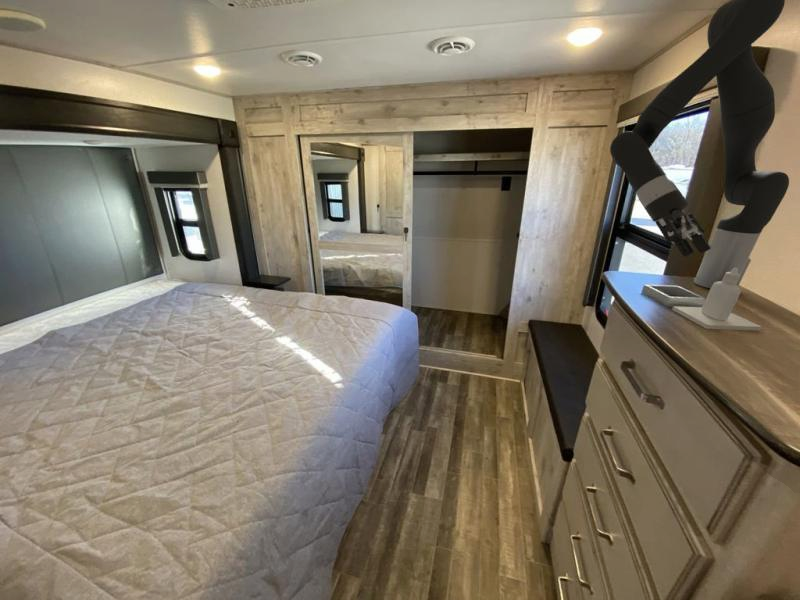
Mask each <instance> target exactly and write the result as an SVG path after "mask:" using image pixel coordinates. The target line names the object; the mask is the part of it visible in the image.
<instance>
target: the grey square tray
mask: <svg viewBox="0 0 800 600" xmlns="http://www.w3.org/2000/svg"><path fill="white" fill-rule="evenodd" d="M641 292H642V293H641V294H643V293H644V294H643V295H645V296H647V297H649V298H651V299H653V300H654V301H655V302H658V303H660V304H661V305H663V306H665V307H672V308H673V306H676V307H703V305H704V302H705V300H706V298H707V297H704V296H701V295H700V294H698V293H695V292H693V291H690V290H689V289H686V288H684V287H682V286H679V285H671V284H670V285H668V284H664V285H663V284H643V287H642V289H641ZM671 295H673V296H671Z"/></svg>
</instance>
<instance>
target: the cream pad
mask: <svg viewBox="0 0 800 600" xmlns="http://www.w3.org/2000/svg"><path fill="white" fill-rule="evenodd" d="M701 309H702V307H676V306H673V307H672V309H671V310H672V311H673V312H675V313H676V314H679V315H680V316H682V317H684V318H686V319H687V320H689V321H691V322H693V323H694V324H696V325H699V326H700V327H702V328H703V329H706V330H729V331H730V330H731V331H732V330H734V331H755V332H756V331H758V332H759V331H761V329H762V326H761V325H759V324H756V323H754V322H752V321H750V320H748V319H746V318H743V317H741V316H739V315H738V314H735V313H732V312H731V313H730V315H729V317H728V319H727V320H725V321H724V320H716V319H713V318H711V317H708V316H707V315H705V314H704V313H702V311H701Z"/></svg>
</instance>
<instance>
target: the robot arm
mask: <svg viewBox="0 0 800 600" xmlns="http://www.w3.org/2000/svg"><path fill="white" fill-rule="evenodd" d="M785 3H786V1H785V0H729V1H728V2H726V3H724V4H723V5H722V6H720V7H719V8H718V9H717V10H716V11H715V13H714V14H713V16H712V17H711V19H710V21H709V24H708V27H707V34H706V38H707V39H706V40H707V45H708V48H707V49H706V50H705V51H704V53H702V54H700V56H699V57H698V58H697V59H696V60H695V61H693V62H692V63H691V64H690V65H689V66H688V67H686V68H685V69H684V70H683V71H682V72H681V73H679V74H678V75H676V77H674V78H673V79H672V80H671V81H670V82H669V83H667V85H666V86H664V87H663V88H662V89H661V90H660V92H658V93H657V94H656V96H655V97H654V98H653V100H652V101H651V102H650V103H649V104H647V106H646V107H645V108H644V110H643V111H642V112H641V113H640V114H639V116H638V118H637V121H636V124H635V126H634V127H633V129H632V130H631V131H624V132H621V133H619V134H618V135H616V136H615V138H614V139H613V140H612V141H611V144H610V145H609V146H610V147H609V153H610V155H611V158H612V160H613V162H614V164H615V165H617V166H618V167H620V169H622V171H623V172H624V174H625V176H626V179H627V181H628V183H629V185H630V186H631V188H632V190H633V191H634V192H635V194H636V196H637V198H638V201H639V202H640V204H641V205H642V207H643V208H644V209H645V211H646V212H647V214H648V216H649V218H650V219H651V220H652V221H653V222H654V223H655V225H656V226H657V227H658V229H659V231H660V233H661V234H662V235H663V237H664V239H665V240H666V242H667V243H672V244H673V245H675V246H676V247H677V249H678V250H679V252H680V253H681V255H682V256H683V257H688V256H691V255H694V253H696V250H697V251H698V253H700V254H702V253H705V254H704V257H703V258H702V261H701V264H700V266H699V269H698V271H697V273H696V276H695V277H694V280H693V283H694V284H696V285H697V286H701V287H704V288H708V289H711V287H712V285H713V284H714V283H715V282H719V281H722V280H723V278H724V275H725V273H726V272H731V271H732V269H733V268H738V272H737V273H738V274H739V275H740V278H739V280H738V282H737V284H736V285H737V286H738V287H739V286H740V284H741V282H742V279H743V278H744V276H745V273H746V272H747V269H748V267H749V265H750V264H751V261H752V260H751V258H750V256H751V253H752V252H753V250H754V248H755V245H756V244H757V241H758V239H759V237H760V235H761V233H762V232H763V230H764V228H765V227H766V226H767V225H768V224H769V222H771V220H772V219H773V217H774V214H775V213H776V212H777V210H778V208H779V206H780V205H781V203H782V201H783V199H784V197H785V195H786V194H787V191H788V189H789V186H790V178H789V175H788V174H787V173H785V172H783V171H774V170H773V171H771V170H769V171H768V170H765V171H764V170H757V169H756V167H757V166H756V151H757V148H758V147H759V145H760V143H761V142H762V140H763V139H764V137H765V136H766V135H767V133H768V132H769V130H770V128H771V127H772V125H773V123H774V121H775V116H776V103H775V90H774V88H773V86H772V84H771V82H770V81H769V79H768V78H767V76H766V75H765V73H764V72H763V71H762V70H761V69H760V67H759V66H758V64H757V63H756V61H755V58H754V53H753V47H752V46H753V45H752V44H753V43H755V42H756V41H757V40H758V39H760V38H761V37H762V36H763V35H764V34H765V33H766V32H767V31H768V30H769V29H771V28H772V27H773V26H774V24H776V22H777V20H778V19H779V17H780V16H781V14H782V13H783V9H784V7H785ZM715 77H716V78H715ZM714 78H715V79H716V85H717V87H716V88H717V94H718V102H719V116H720V126H721V133H722V141H723V152H724V153H723V154H724V156H723V157H724V173H723V175H724V177H723V193H724V198H725V200H726V201H727V202H728V203H729V204H731V205H736V206H743V208H742V210H741V211H740V212H739V213H738V214H736V215H733V216H730V217H724V218H721V219H720V220H719V222H718V223H717V226H716V229H715V231H714V233H713V236H712V238H711V241H710V243H709V242H708V241H707V240H706V239H705V237H704V233H706V231H705V229H704V228H703V227H702V225H701V223H700V222H699V221H698V220H697V219H696V217H695V216H694V214H693V213H688V214H685V213H684V212H683V210H684V209H686V208H687V207H688V206H689V202H688V201H687V199H686V197H684V195H683V193H682V192H681V191H680V189H679V188H678V186H677V185H676V184H675V183H674V181H673V180H672V179H671V178H670V177H669V176H668V175H667V173H665V171H664V169H663V168H662V167H661V165H660V164H659V163H658V162H657V160H655V158H654V156H653V155H652V152H651V150H650V148H651V147H652V145H653V144H654V143H655V142H656V140H657V138H658V137H659V136H660V135H661V133H662V132H663V131H664V130H665V129H666V127H667V126H669V124H670V123H671V122H672V121H673V120H674V119H675V118H676V117H677V116H678V115H679V114H680V113H681V112H682V110H684V108H685V107H686V106H687V105H688V104H689V103H691V100H693V99H694V98H695V96H697V94H699V93H700V92H701V91H702V90H703V89H704V88H705V87H706V86H707V85H708V84H709V83H710V82H711V81H712V80H713V79H714ZM689 240H690V241H691V243H692V244H693V246H694V247H695V249H696V250H695V249H694V247H693V246H692V244H691V243H690V241H689Z"/></svg>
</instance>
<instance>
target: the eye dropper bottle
mask: <svg viewBox="0 0 800 600" xmlns="http://www.w3.org/2000/svg"><path fill="white" fill-rule="evenodd" d="M737 272H738V268H733V269H732V271H731V272H726V273H725V275H724V278H723V280H722V281H719V282H715V283H714V284H713V285H712V287H711V288H709V292H708V293H707V296H706V297H705V298H706V300H705V302H704V305H703V307H702V309H701V311H702V313H704V314H705V315H707V316H708V317H711V318H713V319H716V320H724V321H725V320H727V319H728V317H729V315H730V313H732V311H733V309H734V308H735V305H736V303H737V301H738V299H739V297H740V294H741V292H742V291H741V289H740V287H739V286H737V285H736V284H737V282H738V280H739V278H740V275H739V274H738V273H737Z"/></svg>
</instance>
